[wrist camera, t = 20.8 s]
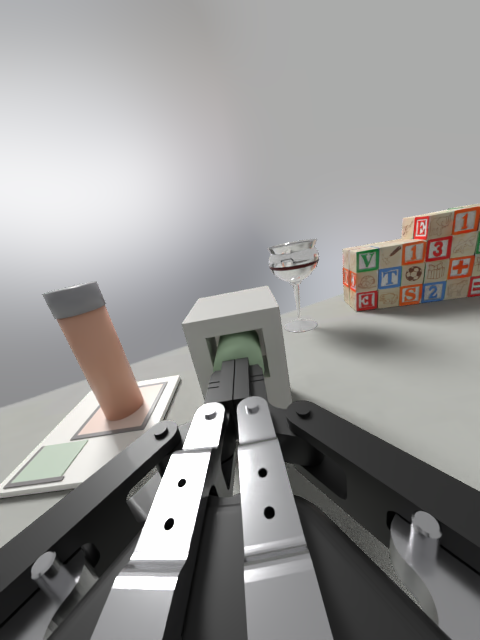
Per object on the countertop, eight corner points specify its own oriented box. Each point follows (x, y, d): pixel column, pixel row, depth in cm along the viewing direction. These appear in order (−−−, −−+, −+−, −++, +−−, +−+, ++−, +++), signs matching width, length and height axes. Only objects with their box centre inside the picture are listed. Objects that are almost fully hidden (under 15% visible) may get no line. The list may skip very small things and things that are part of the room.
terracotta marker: (96, 424, 21) (29, 297, 17) (116, 397, 25) (66, 286, 21) (134, 418, 21) (76, 288, 17) (150, 391, 25) (105, 279, 20)
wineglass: (324, 315, 36) (319, 237, 32) (323, 334, 31) (316, 241, 27) (282, 317, 39) (272, 245, 35) (273, 335, 33) (260, 251, 29)
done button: (219, 395, 14) (207, 353, 13) (224, 362, 18) (215, 326, 17) (267, 388, 14) (260, 344, 13) (262, 355, 18) (255, 319, 16)
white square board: (-6, 499, 17) (-11, 493, 16) (93, 392, 28) (91, 388, 28) (137, 479, 16) (134, 473, 16) (180, 378, 27) (179, 374, 27)
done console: (217, 444, 17) (181, 324, 14) (223, 393, 23) (198, 298, 20) (296, 433, 17) (278, 306, 14) (282, 383, 23) (267, 285, 19)
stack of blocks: (355, 313, 35) (354, 229, 31) (343, 301, 41) (340, 229, 37) (518, 291, 32) (541, 193, 28) (479, 281, 38) (494, 199, 33)
